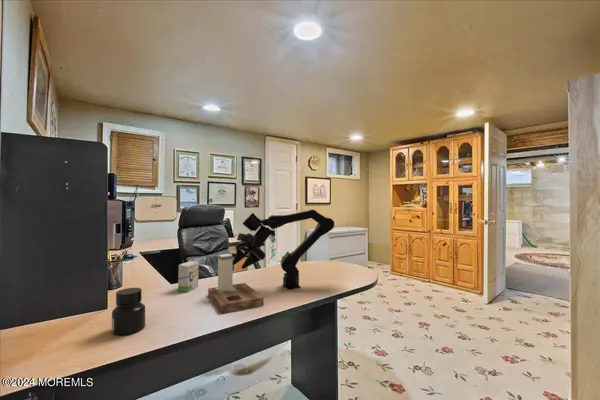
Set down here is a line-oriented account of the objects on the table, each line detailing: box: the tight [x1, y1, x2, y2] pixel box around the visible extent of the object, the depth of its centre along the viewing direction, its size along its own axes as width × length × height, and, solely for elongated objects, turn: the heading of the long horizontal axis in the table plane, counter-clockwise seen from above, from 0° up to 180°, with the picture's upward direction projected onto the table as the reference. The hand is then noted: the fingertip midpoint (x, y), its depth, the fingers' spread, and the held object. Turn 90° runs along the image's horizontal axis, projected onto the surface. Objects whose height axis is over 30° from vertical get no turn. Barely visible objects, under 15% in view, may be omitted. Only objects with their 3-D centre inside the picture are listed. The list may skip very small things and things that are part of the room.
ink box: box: [177, 261, 199, 293], centre depth 127 cm, size 9×5×12 cm, turn 168°
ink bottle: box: [111, 287, 146, 336], centre depth 88 cm, size 10×9×12 cm
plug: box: [217, 253, 234, 291], centre depth 118 cm, size 5×5×14 cm
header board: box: [207, 282, 264, 315], centre depth 113 cm, size 16×22×3 cm
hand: (237, 266), depth 121 cm, fingers open, 9 cm apart
